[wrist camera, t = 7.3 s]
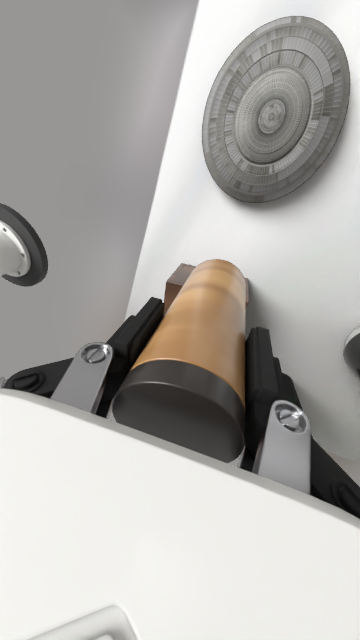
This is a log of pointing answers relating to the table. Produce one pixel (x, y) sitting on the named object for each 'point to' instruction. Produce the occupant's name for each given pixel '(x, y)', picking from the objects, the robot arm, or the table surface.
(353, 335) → the pump dispenser
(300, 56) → the flying saucer
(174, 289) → the cabinet
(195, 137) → the table surface
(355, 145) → the table surface
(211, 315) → the pepper mill
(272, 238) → the table surface
